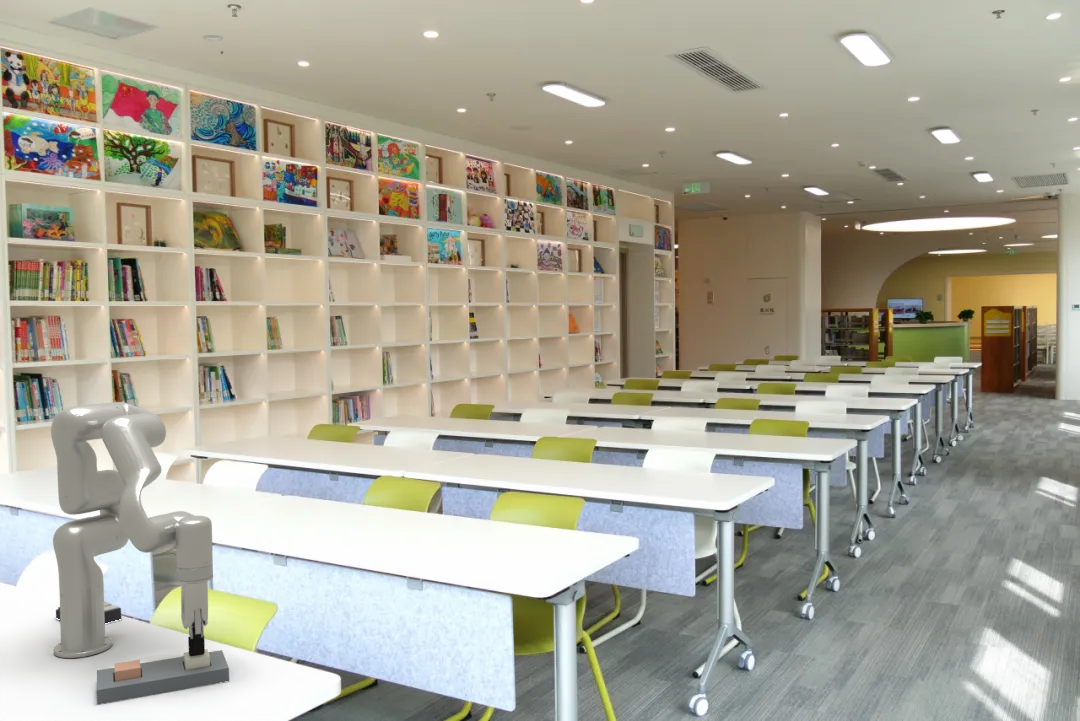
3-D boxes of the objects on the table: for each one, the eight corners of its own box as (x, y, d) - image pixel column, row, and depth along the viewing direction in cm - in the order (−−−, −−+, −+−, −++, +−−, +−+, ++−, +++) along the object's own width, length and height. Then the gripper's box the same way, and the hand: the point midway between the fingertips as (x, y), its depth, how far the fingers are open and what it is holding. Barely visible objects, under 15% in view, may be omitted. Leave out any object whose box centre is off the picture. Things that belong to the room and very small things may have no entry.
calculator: (97, 597, 246) (121, 605, 236) (97, 612, 246) (122, 621, 236) (54, 606, 237) (78, 615, 228) (55, 622, 237) (79, 632, 228)
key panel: (97, 683, 194) (96, 670, 194) (222, 662, 205) (222, 650, 205) (96, 704, 183) (96, 690, 183) (229, 681, 195) (228, 667, 194)
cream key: (184, 670, 198) (183, 652, 198) (207, 666, 201) (207, 648, 200) (186, 678, 194) (185, 660, 194) (210, 673, 196) (209, 656, 196)
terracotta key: (114, 681, 192) (114, 663, 192) (140, 677, 194) (139, 659, 194) (115, 690, 188) (114, 671, 187) (141, 685, 190) (140, 667, 190)
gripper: (174, 566, 201) (176, 646, 202) (179, 583, 188) (181, 668, 189) (209, 562, 205) (210, 640, 205) (216, 579, 191) (218, 662, 192)
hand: (196, 654), depth 197 cm, fingers closed
